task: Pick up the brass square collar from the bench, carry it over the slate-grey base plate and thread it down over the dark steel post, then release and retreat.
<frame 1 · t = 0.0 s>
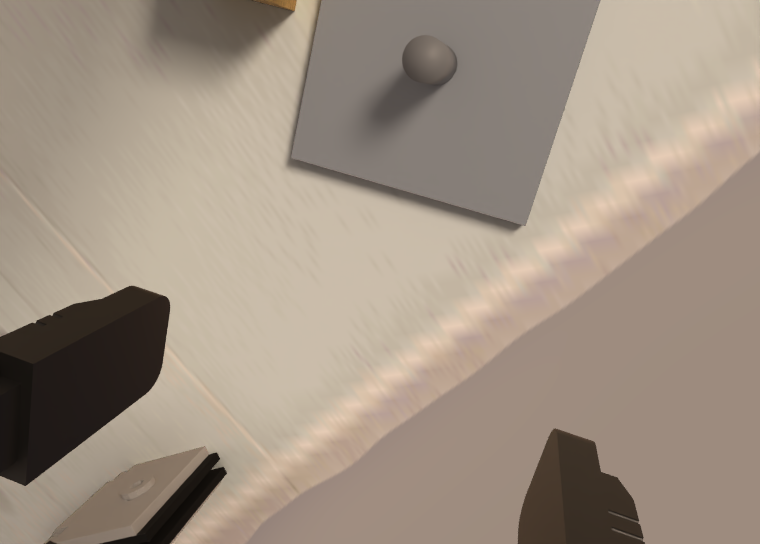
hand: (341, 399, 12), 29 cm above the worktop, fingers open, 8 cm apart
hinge: (163, 489, 53), on the worktop
post block: (439, 65, 38), on the worktop
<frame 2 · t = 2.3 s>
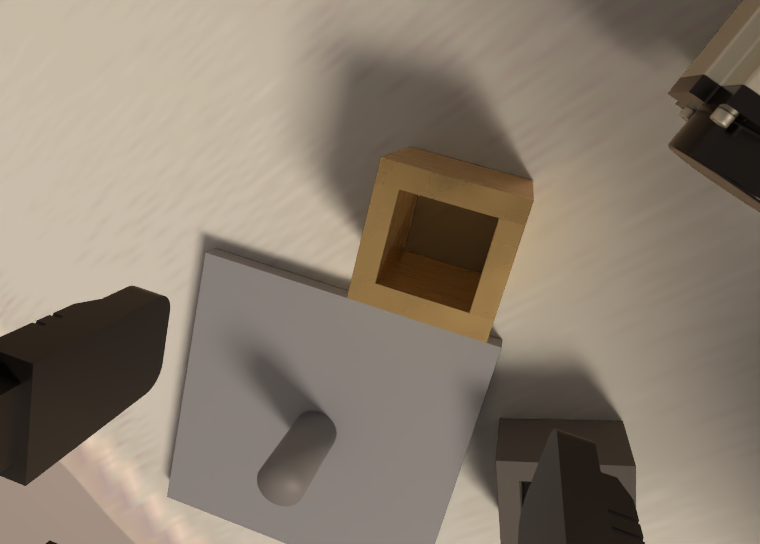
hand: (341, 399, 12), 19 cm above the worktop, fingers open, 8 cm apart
brass collar: (453, 223, 30), on the worktop
grey hollow square block: (561, 471, 32), on the worktop
post block: (321, 421, 34), on the worktop
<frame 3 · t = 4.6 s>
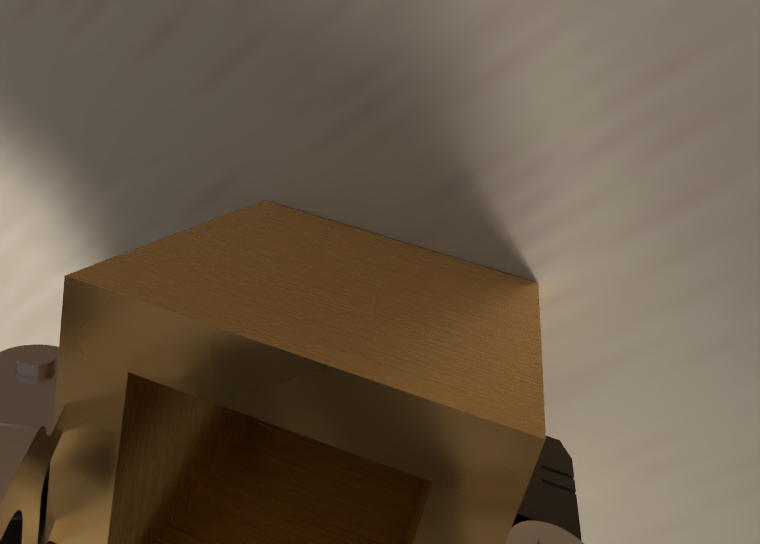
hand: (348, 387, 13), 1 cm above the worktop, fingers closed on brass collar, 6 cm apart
brass collar: (363, 365, 14), on the worktop, touching gripper
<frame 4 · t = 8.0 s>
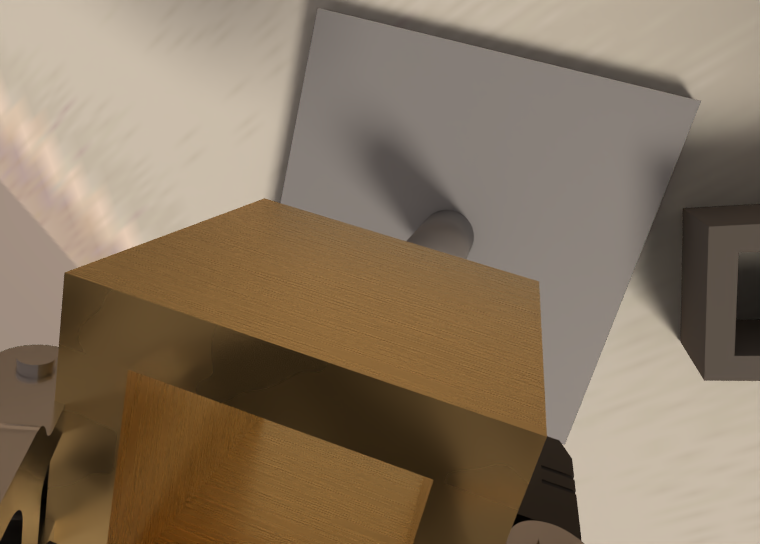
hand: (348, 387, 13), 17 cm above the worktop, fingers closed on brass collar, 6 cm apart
brass collar: (363, 364, 14), point 16 cm above the worktop, touching gripper
grey hollow square block: (759, 274, 26), on the worktop
post block: (449, 231, 28), on the worktop
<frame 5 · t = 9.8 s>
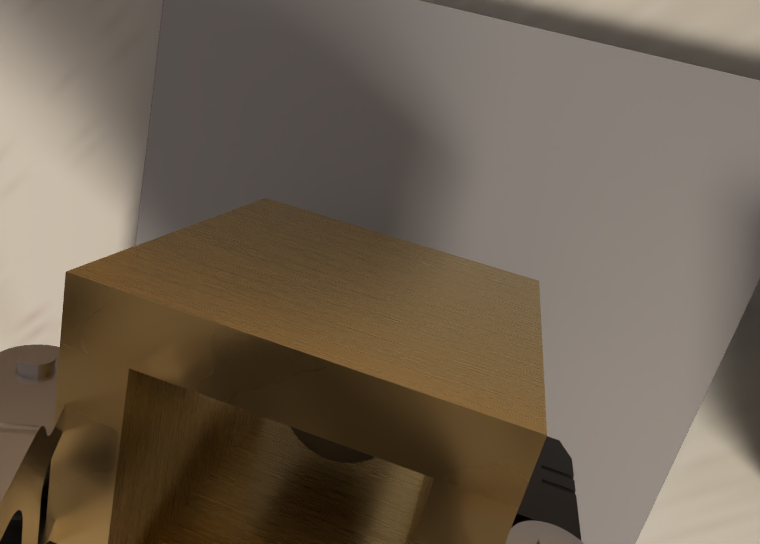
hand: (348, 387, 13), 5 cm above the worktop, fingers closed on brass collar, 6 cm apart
brass collar: (364, 363, 14), point 4 cm above the worktop, touching gripper
post block: (401, 310, 18), on the worktop
when the fingers open (4 cm above the worktop, at t = 11.2 s): brass collar drops 1 cm, resting on post block.
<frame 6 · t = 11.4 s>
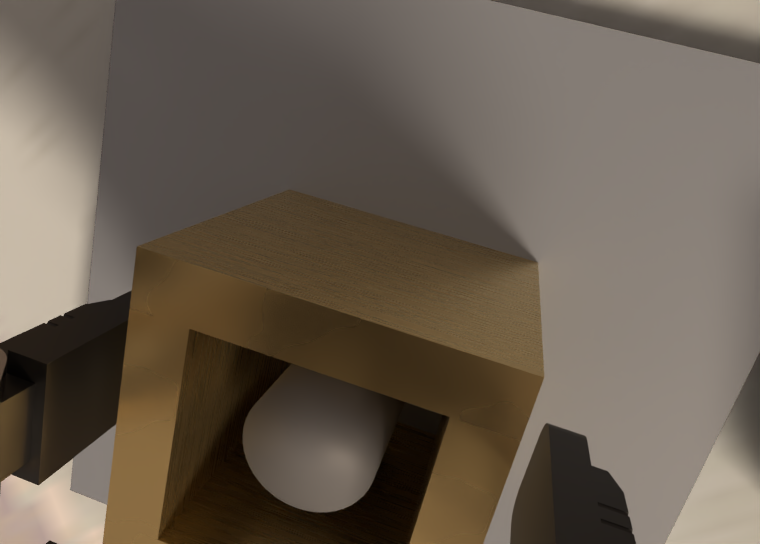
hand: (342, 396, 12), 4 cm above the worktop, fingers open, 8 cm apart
brass collar: (379, 340, 15), point 1 cm above the worktop, touching post block
post block: (386, 326, 16), on the worktop
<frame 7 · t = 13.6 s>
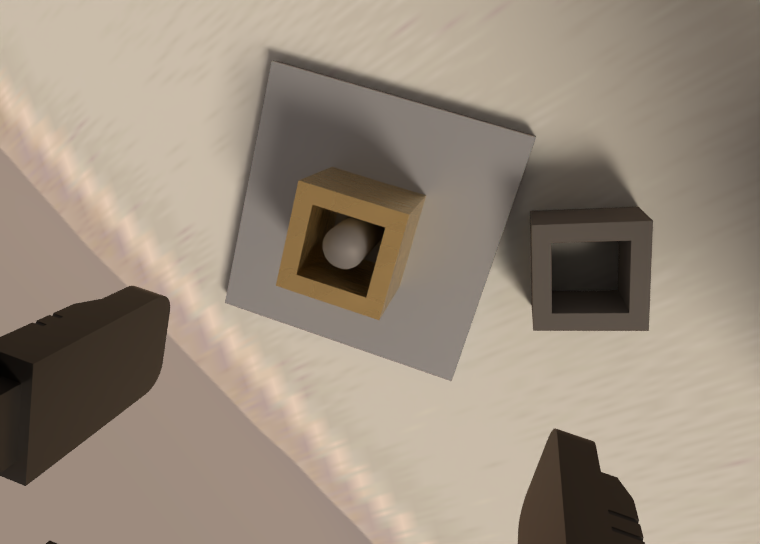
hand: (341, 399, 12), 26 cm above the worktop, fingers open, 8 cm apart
brass collar: (366, 227, 38), point 1 cm above the worktop, touching post block
grey hollow square block: (582, 258, 36), on the worktop
post block: (369, 224, 39), on the worktop
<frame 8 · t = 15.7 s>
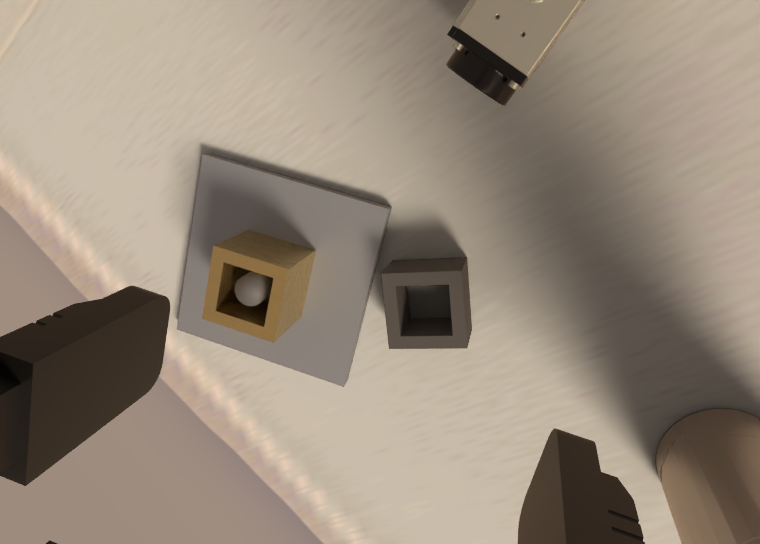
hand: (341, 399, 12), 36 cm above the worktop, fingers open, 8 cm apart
brass collar: (275, 273, 51), point 1 cm above the worktop, touching post block
grey hollow square block: (432, 294, 49), on the worktop
pneumatic valve: (529, 11, 42), on the worktop
post block: (279, 270, 52), on the worktop
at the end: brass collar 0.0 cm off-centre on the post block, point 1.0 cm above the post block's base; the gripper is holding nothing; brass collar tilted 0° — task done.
